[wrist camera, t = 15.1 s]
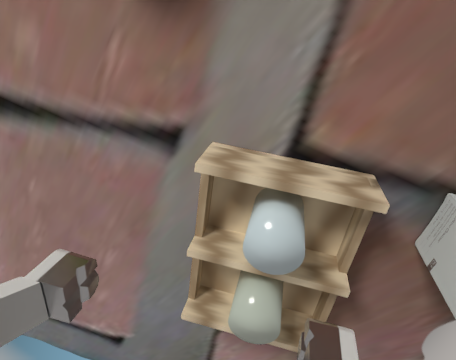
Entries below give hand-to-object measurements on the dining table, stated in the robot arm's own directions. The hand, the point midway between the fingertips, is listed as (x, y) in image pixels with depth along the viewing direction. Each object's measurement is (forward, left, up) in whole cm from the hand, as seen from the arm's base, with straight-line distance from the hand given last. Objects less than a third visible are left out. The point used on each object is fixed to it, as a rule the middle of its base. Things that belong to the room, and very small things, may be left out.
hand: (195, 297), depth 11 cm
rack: (-4, +17, -28) cm, 33 cm away
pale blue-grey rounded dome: (-4, +11, -26) cm, 29 cm away
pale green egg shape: (-4, +23, -26) cm, 35 cm away
